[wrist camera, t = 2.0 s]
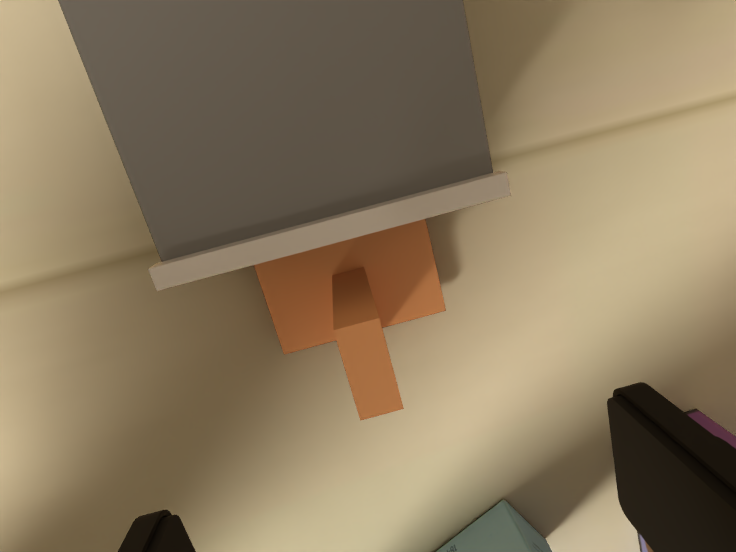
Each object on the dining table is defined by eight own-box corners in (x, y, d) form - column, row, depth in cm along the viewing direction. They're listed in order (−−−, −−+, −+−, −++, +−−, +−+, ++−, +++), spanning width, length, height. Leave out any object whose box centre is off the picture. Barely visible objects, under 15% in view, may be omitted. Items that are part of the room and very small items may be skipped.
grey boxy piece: (452, 180, 23) (511, 195, 16) (212, 244, 23) (157, 291, 16) (373, -209, 19) (404, -444, 11) (76, -132, 19) (-92, -318, 11)
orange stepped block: (444, 311, 24) (494, 383, 17) (286, 354, 24) (268, 445, 17) (365, -41, 19) (387, -155, 12) (170, 10, 19) (75, -73, 12)
